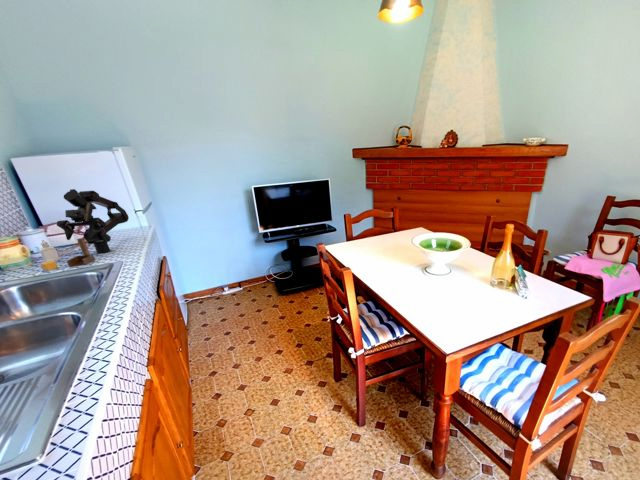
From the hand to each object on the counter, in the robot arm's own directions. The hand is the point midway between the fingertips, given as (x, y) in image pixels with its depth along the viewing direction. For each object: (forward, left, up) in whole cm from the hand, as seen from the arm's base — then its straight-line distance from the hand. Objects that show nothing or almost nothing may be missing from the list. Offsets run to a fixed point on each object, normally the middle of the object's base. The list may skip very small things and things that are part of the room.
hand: (78, 238), depth 146 cm
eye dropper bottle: (-19, -7, -12) cm, 24 cm away
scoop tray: (+1, -2, -12) cm, 12 cm away
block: (-5, -13, -8) cm, 16 cm away
